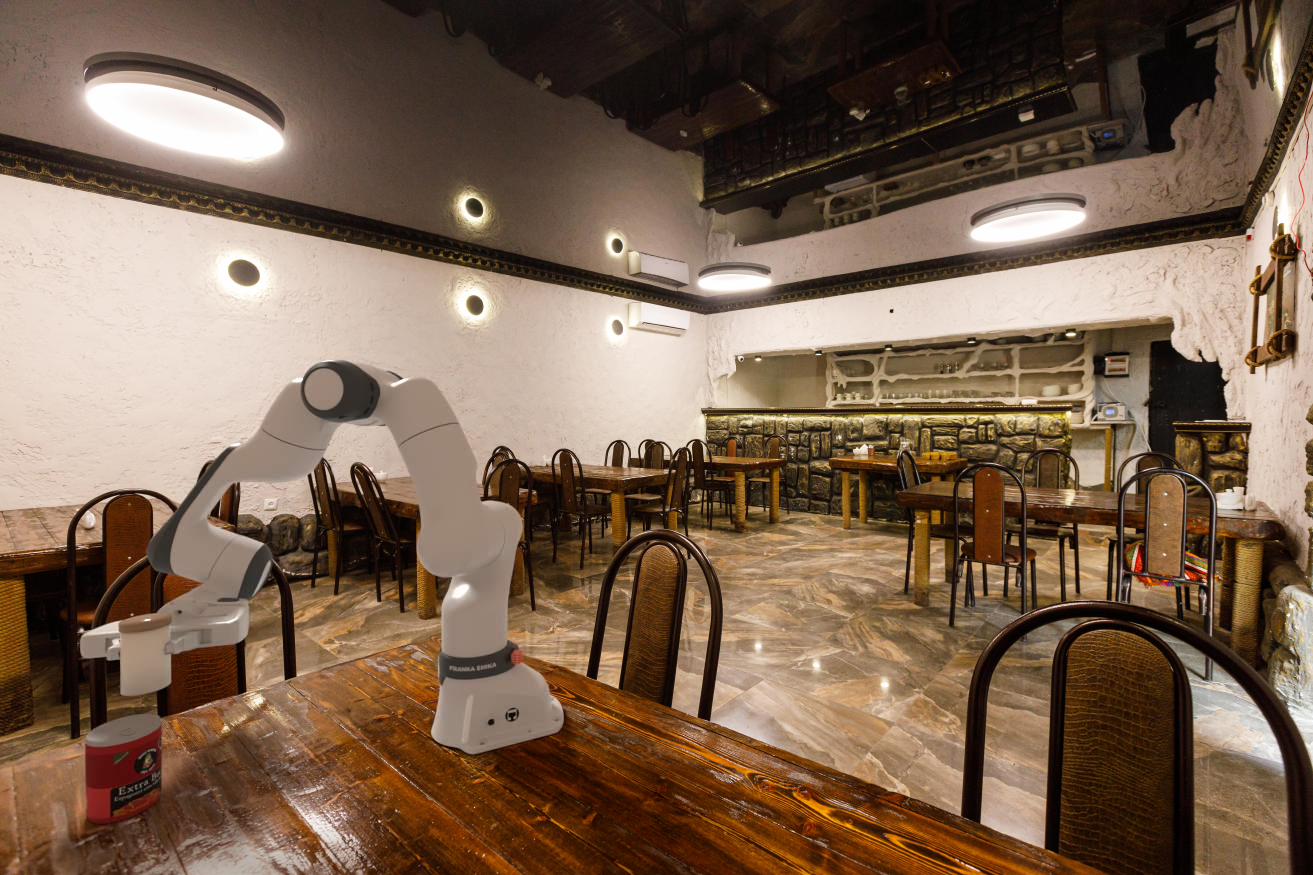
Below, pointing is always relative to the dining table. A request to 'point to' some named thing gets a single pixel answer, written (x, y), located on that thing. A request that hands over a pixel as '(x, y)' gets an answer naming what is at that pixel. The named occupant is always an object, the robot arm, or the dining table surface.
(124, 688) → the spice jar
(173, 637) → the robot arm
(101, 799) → the canned food
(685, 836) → the dining table surface
